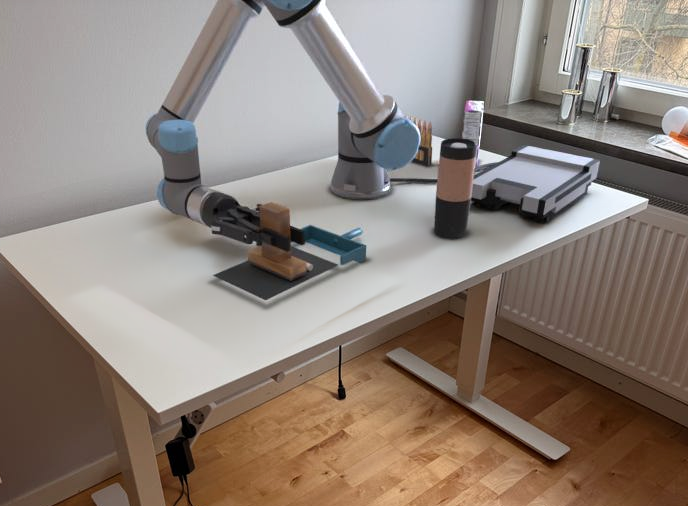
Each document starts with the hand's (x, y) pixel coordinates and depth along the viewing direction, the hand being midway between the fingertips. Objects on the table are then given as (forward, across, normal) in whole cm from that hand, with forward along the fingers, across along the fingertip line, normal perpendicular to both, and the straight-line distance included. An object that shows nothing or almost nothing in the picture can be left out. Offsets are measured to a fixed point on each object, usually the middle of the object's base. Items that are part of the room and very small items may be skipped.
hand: (295, 241), depth 131 cm
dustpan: (-5, -18, -9) cm, 21 cm away
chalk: (-2, -4, -7) cm, 8 cm away
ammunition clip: (-29, -77, -9) cm, 83 cm away
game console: (+10, -71, -9) cm, 73 cm away
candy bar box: (-16, -84, -9) cm, 86 cm away
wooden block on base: (-5, 0, -7) cm, 9 cm away
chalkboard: (-5, 0, -9) cm, 11 cm away
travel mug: (+7, -41, -9) cm, 43 cm away
